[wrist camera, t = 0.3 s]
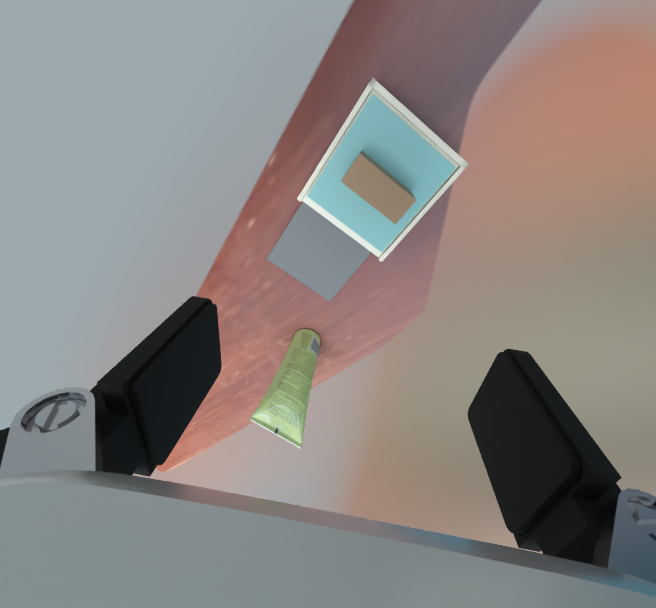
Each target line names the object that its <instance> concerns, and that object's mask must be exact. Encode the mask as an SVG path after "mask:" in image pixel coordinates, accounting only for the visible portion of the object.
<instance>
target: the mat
mask: <svg viewBox="0 0 656 608" xmlns="http://www.w3.org/2000/svg"><path fill="white" fill-rule="evenodd" d="M370 254H371V252H370V251H369V250H368V249H366V248H365V247H364V246H362V245H361V244H360V243H358V242H357V241H356V240H354V239H353V238H352V237H350V236H349V235H348V234H346V233H345V232H344V231H342V230H341V229H340V228H338V227H337V226H335V225H334V224H333V223H331V222H330V221H329V220H327V219H326V218H325V217H323V216H322V215H321V214H319V213H318V212H317V211H315V210H314V209H313V208H311V207H310V206H309V205H307V204H306V203H305V202H303V203H302V204H301V206H300V207H299V209H298V211H297V212H296V214H295V215H294V217H293V218H292V220H291V222H290V223H289V225H288V226H287V228H286V229H285V231H284V233H283V234H282V236H281V237H280V239H279V240H278V242H277V243H276V245H275V247H274V248H273V250H272V251H271V253H270V254H269V256H268V258H267V259H268V260H269V261H271V262H272V263H273V264H275V265H276V266H278V267H279V268H281V269H282V270H284V271H285V272H287V273H288V274H290V275H291V276H293V277H294V278H296V279H297V280H299V281H300V282H302V283H303V284H304V285H306V286H307V287H309V288H310V289H312V290H313V291H315V292H316V293H318V294H319V295H321V296H322V297H324V298H325V299H327V300H328V301H330V300H331V299H332V298H333V297H334V296H335V295H336V293H337V292H338V291H339V290H340V289H341V288H342V286H343V285H344V284H345V283H346V282H347V280H348V279H349V278H350V277H351V276H352V275H353V273H354V272H355V271H356V270H357V269H358V268H359V266H360V265H361V264H362V263H363V262H364V261H365V259H366V258H367V257H368V256H369V255H370Z"/></svg>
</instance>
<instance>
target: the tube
mask: <svg viewBox="0 0 656 608" xmlns="http://www.w3.org/2000/svg"><path fill="white" fill-rule="evenodd" d="M320 343H321V341H320V337H319V336H318V334H317V333H316V332H314V331H312V330H310V329H301V330H299V331H297V332H296V333H295V335H294V337H293V339H292V342H291V344H290V346H289V348H288V350H287V352H286V355H285V357H284V359H283V361H282V363H281V365H280V367H279V369H278V371H277V373H276V375H275V377H274V379H273V381H272V383H271V385H270V387H269V388H268V390H267V392H266V394H265V396H264V397H263V399H262V401H261V403H260V404H259V406H258V408H257V409H256V411H255V412H254V413H253V415H252V417H251V419H250V421H252V422H254V423H256V424H258V425H260V426H262V427H263V428H265V429H267V430H269V431H271V432H272V433H274V434H276V435H278V436H279V437H281V438H283V439H285V440H287V441H288V442H290V443H292V444H293V445H295V446H297V447H298V448H301V446H302V441H303V432H304V425H305V418H306V412H307V406H308V400H309V395H310V389H311V384H312V379H313V375H314V370H315V365H316V361H317V356H318V352H319V348H320Z"/></svg>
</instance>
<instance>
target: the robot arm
mask: <svg viewBox="0 0 656 608" xmlns="http://www.w3.org/2000/svg"><path fill="white" fill-rule="evenodd" d="M220 371H221V352H220V340H219V328H218V315H217V306H216V305H215V304H212V301H211V300H210V299H207V298H201V297H195V296H192V297H191V298H189V299H188V300H187V301H186V302H185V303H184V304H183V305H182V306H180V307H179V308H178V309H177V310H176V311H175V312H174V313H173V314H172V315H170V316H169V317H168V318H167V319H166V320H165V321H164V322H163V323H162V324H161V325H160V326H158V327H157V328H156V329H155V330H154V331H153V332H152V333H151V334H150V335H149V336H147V337H146V338H145V339H144V340H143V341H142V342H141V343H140V344H139V345H138V346H137V347H135V348H134V349H133V350H132V351H131V352H130V353H129V354H128V355H127V356H126V357H124V358H123V359H122V360H121V361H120V362H119V363H118V364H117V365H116V366H115V367H113V368H112V369H111V370H110V371H109V372H108V373H107V374H106V375H105V376H104V377H103V378H101V379H100V380H99V381H98V382H97V385H96V386H95V387H94V388H93V389H92V390H90V391H89V390H87V389H83V388H64V389H59V390H56V391H53V392H50V393H47V394H44V395H42V396H40V397H39V398H36V399H34V400H33V401H31V402H30V403H29V404H27V405H26V406H24V407H23V408H22V409H21V410H20V411H19V412H18V413H17V414H16V416H15V417H14V419H13V421H12V423H11V426H10V427H9V428H6V429H3V430H0V608H656V497H655V496H653V495H651V494H649V493H646V492H643V491H640V490H638V489H629V488H628V489H625V490H622V491H621V489H620V488H619V487H618V485H617V484H616V482H617V481H618V480H619V479H621V476H620V475H619V473H618V472H617V471H616V470H615V468H614V467H613V465H612V464H611V463H610V461H609V460H608V459H607V457H606V456H605V455H604V453H603V452H602V451H601V449H600V448H599V446H598V445H597V444H596V442H595V441H594V440H593V438H592V437H591V436H590V434H589V433H588V432H587V430H586V429H585V428H584V426H583V425H582V424H581V422H580V421H579V420H578V418H577V417H576V415H575V414H574V413H573V411H572V410H571V409H570V407H569V406H568V405H567V403H566V402H565V401H564V400H563V398H562V397H561V395H560V394H559V393H558V391H557V390H556V389H555V387H554V386H553V385H552V383H551V382H550V380H549V379H548V378H547V376H546V375H545V374H544V372H543V371H542V370H541V368H540V367H539V366H538V364H537V363H536V362H535V360H534V359H533V357H532V356H531V355H530V354H529V353H528V352H525V351H519V350H513V349H506V350H505V351H504V352H500V353H499V354H498V355H497V356H496V358H495V360H494V362H493V364H492V366H491V368H490V370H489V372H488V373H487V375H486V377H485V379H484V381H483V383H482V385H481V386H480V388H479V390H478V392H477V394H476V396H475V398H474V400H473V402H472V403H471V405H470V407H469V410H468V419H469V422H470V425H471V428H472V431H473V433H474V437H475V439H476V442H477V445H478V448H479V451H480V453H481V456H482V459H483V462H484V464H485V468H486V470H487V473H488V476H489V479H490V482H491V484H492V487H493V490H494V493H495V496H496V499H497V501H498V504H499V507H500V510H501V512H502V515H503V518H504V521H505V524H506V526H507V528H508V530H509V531H510V532H512V533H513V534H514V536H515V539H516V542H517V545H518V547H519V548H523V549H528V550H533V551H538V552H540V551H541V550H542V552H543V554H540V553H536V552H531V551H526V550H522V549H516V548H512V547H506V546H502V545H497V544H492V543H487V542H482V541H477V540H471V539H466V538H461V537H456V536H451V535H446V534H441V533H436V532H431V531H426V530H421V529H416V528H411V527H406V526H401V525H395V524H390V523H385V522H380V521H375V520H369V519H365V518H360V517H354V516H349V515H344V514H338V513H333V512H328V511H323V510H318V509H313V508H307V507H302V506H297V505H292V504H287V503H281V502H276V501H271V500H266V499H260V498H255V497H249V496H244V495H239V494H234V493H228V492H223V491H217V490H212V489H207V488H202V487H196V486H191V485H185V484H179V483H173V482H167V481H161V480H155V479H150V478H144V477H137V476H132V474H133V473H135V474H140V475H145V476H150V475H151V474H152V472H153V471H154V469H155V468H156V466H157V465H162V464H163V463H164V462H165V461H166V459H167V458H168V456H169V455H170V453H171V451H172V450H173V448H174V446H175V445H176V443H177V442H178V440H179V438H180V437H181V435H182V434H183V432H184V430H185V429H186V427H187V426H188V424H189V422H190V421H191V419H192V418H193V416H194V414H195V413H196V411H197V409H198V408H199V406H200V405H201V403H202V401H203V400H204V398H205V397H206V395H207V393H208V392H209V390H210V389H211V387H212V385H213V384H214V382H215V381H216V379H217V377H218V376H219V374H220Z"/></svg>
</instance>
